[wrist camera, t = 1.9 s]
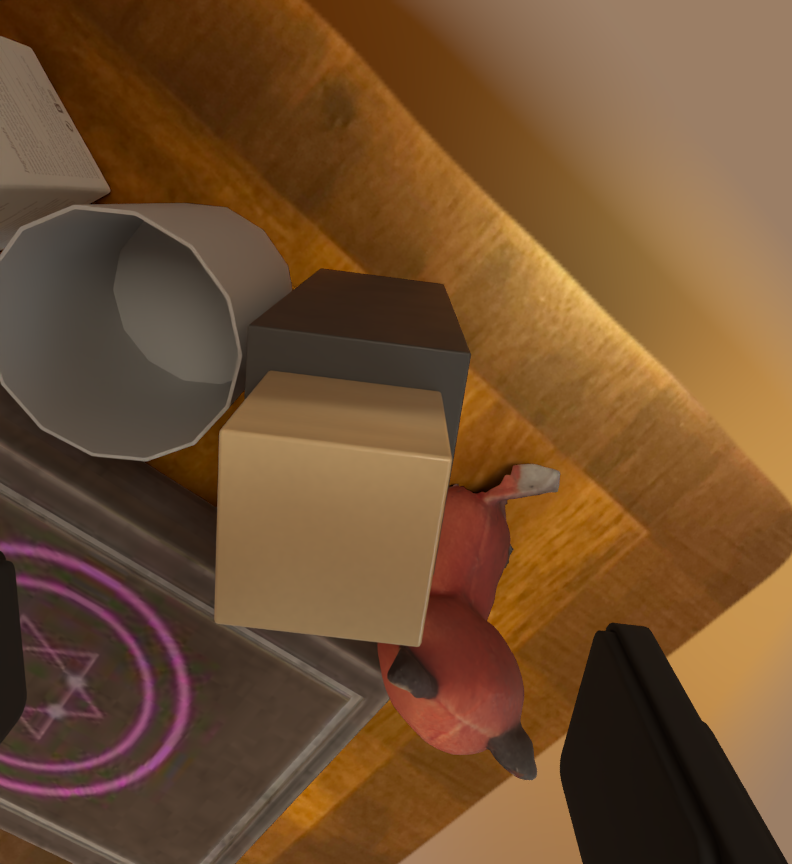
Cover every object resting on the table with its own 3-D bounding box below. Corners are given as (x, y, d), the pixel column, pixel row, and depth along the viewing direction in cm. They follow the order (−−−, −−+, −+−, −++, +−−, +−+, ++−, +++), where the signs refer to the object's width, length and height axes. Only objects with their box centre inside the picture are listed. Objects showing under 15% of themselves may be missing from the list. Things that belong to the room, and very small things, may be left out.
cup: (326, 269, 29) (286, 301, 20) (246, 412, 32) (178, 501, 22) (160, 166, 28) (32, 149, 18) (90, 324, 30) (-53, 380, 21)
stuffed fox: (595, 486, 33) (691, 637, 22) (466, 632, 36) (492, 828, 25) (478, 408, 31) (515, 525, 20) (356, 567, 35) (330, 743, 24)
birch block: (268, 369, 16) (217, 429, 12) (442, 390, 17) (453, 458, 12) (259, 523, 18) (212, 625, 14) (418, 542, 18) (421, 649, 14)
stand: (320, 268, 29) (246, 324, 16) (444, 284, 29) (471, 353, 16) (309, 406, 32) (237, 554, 18) (424, 420, 32) (433, 577, 19)
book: (-243, 608, 37) (-339, 667, 32) (-104, 295, 30) (-198, 313, 25) (209, 838, 42) (185, 918, 38) (408, 618, 36) (408, 681, 31)
